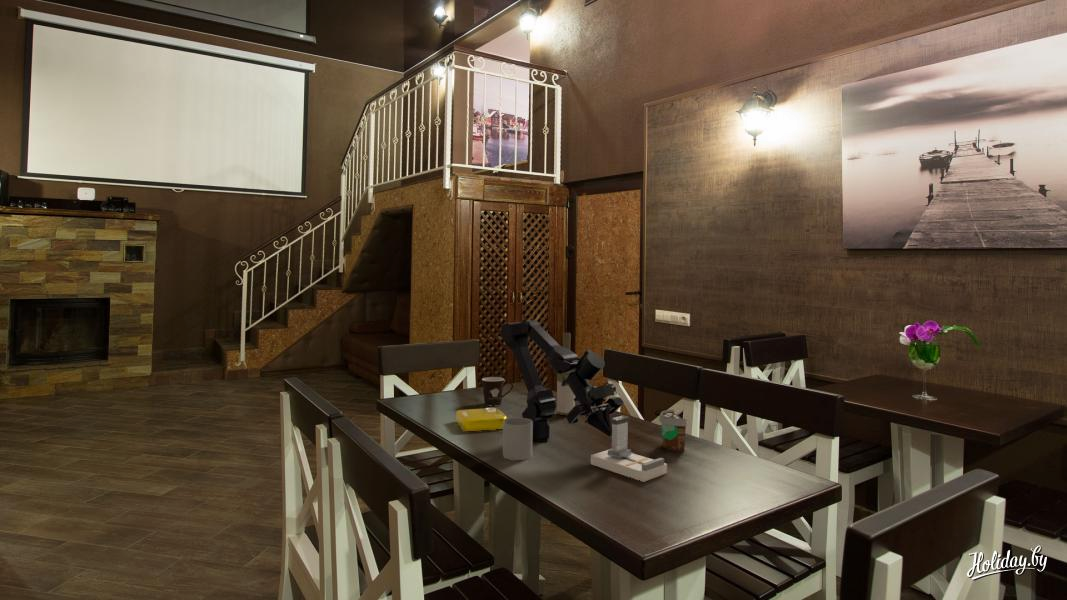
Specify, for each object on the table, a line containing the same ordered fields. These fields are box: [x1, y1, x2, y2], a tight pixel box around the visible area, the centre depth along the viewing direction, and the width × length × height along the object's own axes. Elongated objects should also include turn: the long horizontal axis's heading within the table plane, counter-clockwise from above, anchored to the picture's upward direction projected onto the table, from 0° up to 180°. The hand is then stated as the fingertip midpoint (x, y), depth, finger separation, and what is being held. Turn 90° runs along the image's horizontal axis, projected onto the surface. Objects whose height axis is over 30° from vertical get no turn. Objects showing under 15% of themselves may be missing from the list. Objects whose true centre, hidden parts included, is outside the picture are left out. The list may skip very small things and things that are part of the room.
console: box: [590, 448, 668, 483], centre depth 160 cm, size 18×10×4 cm, turn 42°
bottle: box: [556, 332, 576, 417], centre depth 218 cm, size 7×7×30 cm
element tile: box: [455, 407, 508, 432], centre depth 203 cm, size 15×15×5 cm
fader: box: [607, 415, 632, 459], centre depth 162 cm, size 4×6×10 cm
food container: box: [658, 409, 687, 452], centre depth 180 cm, size 12×6×10 cm, turn 5°
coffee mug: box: [481, 376, 514, 407], centre depth 232 cm, size 12×9×10 cm
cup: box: [502, 417, 533, 461], centre depth 170 cm, size 8×8×10 cm
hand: (611, 435), depth 164 cm, fingers closed
